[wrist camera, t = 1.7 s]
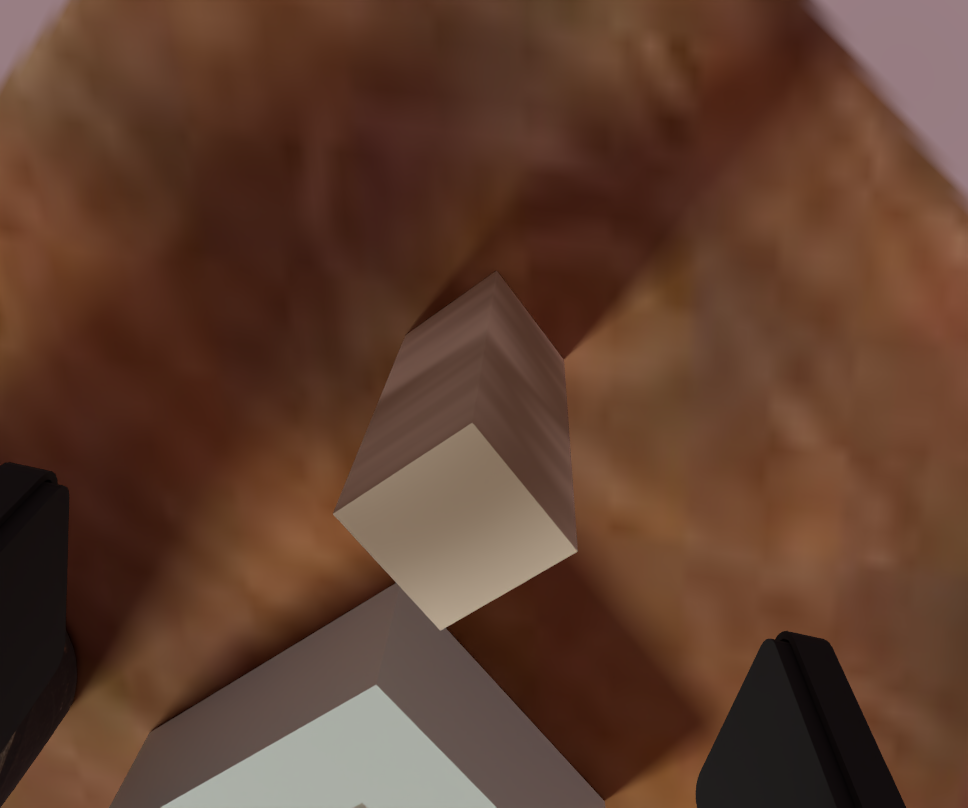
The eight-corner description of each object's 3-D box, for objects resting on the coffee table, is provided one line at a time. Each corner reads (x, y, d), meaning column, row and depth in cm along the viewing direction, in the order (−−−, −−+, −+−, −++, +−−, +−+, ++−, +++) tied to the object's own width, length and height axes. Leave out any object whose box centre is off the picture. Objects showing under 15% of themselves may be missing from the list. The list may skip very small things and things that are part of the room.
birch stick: (563, 359, 23) (577, 550, 15) (473, 418, 24) (439, 631, 16) (496, 270, 22) (472, 422, 14) (405, 335, 23) (333, 513, 15)
